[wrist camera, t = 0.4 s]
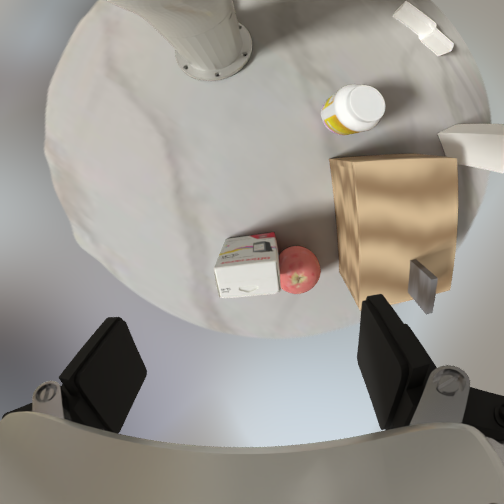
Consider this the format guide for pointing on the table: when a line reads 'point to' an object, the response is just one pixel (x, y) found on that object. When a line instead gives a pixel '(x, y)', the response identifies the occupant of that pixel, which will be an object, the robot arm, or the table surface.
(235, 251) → the ink box
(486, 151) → the milk
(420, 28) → the white stepped block
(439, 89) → the table surface
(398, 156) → the wooden box
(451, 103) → the table surface
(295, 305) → the table surface
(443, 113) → the table surface
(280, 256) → the apple
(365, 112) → the supplement bottle
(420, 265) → the lid
